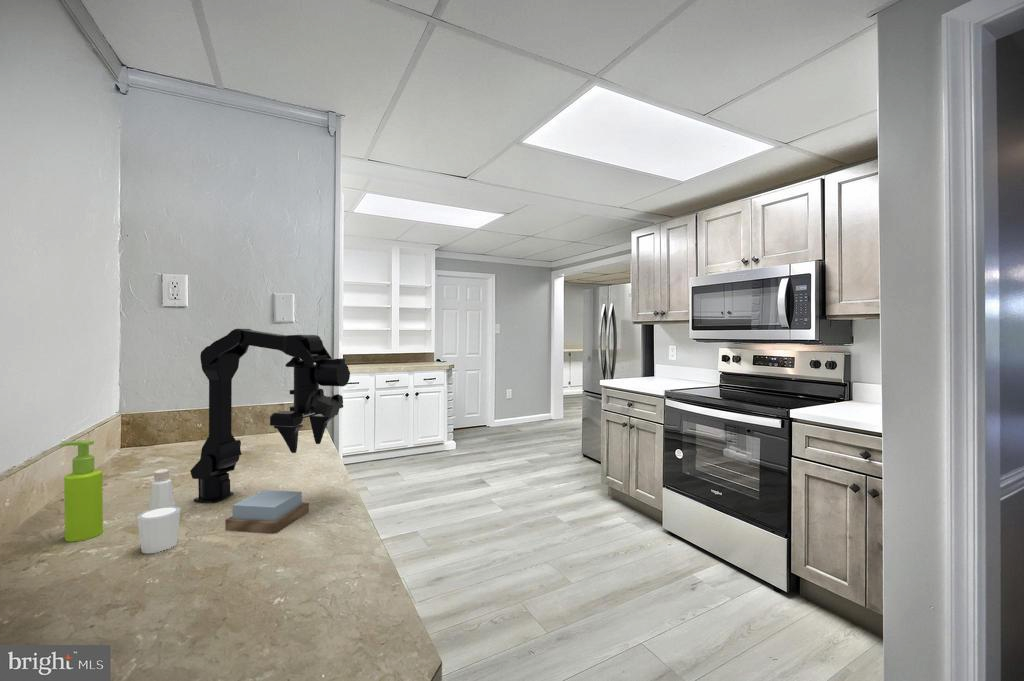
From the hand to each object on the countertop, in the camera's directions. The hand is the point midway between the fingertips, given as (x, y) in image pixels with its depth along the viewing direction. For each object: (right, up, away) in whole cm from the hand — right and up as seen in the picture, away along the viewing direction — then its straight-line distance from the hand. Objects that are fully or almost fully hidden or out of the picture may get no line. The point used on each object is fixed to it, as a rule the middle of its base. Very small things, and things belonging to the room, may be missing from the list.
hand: (306, 448), depth 113 cm
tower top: (-5, -12, -9) cm, 16 cm away
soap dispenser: (-40, -15, -17) cm, 46 cm away
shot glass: (-20, -15, -22) cm, 33 cm away
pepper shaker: (-31, -15, -7) cm, 35 cm away
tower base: (-5, -15, -9) cm, 18 cm away
